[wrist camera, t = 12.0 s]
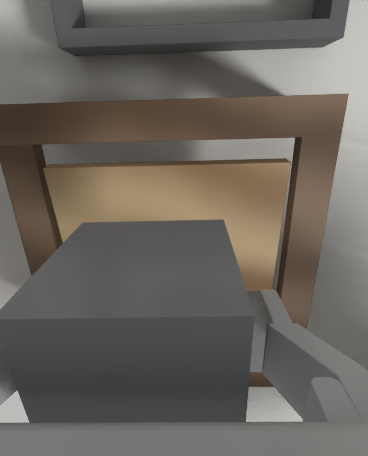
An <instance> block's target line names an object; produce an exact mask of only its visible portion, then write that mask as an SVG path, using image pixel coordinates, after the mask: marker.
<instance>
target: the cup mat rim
mask: <svg viewBox="0 0 368 456" xmlns="http://www.w3.org/2000/svg"><path fill="white" fill-rule="evenodd" d="M51 5H52V11H53V17H54V23H55V29H56V35H57V40H58V46H59V48H60V49H62V50H65V51H67V52H69V53H71V54H73V55H75V56H92V55H120V54H148V53H176V52H204V51H232V50H260V49H287V48H315V47H324V46H326V45H328V44H330V43H332V42H335V41H337V40H339V39H341V38H343V37H344V31H345V25H346V18H347V12H348V6H349V0H314V7H313V15H312V19H304V20H278V21H252V22H226V23H200V24H175V25H149V26H123V27H97V28H86V26H85V18H84V11H83V4H82V0H51Z"/></svg>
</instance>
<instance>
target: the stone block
mask: <svg viewBox="0 0 368 456" xmlns="http://www.w3.org/2000/svg"><path fill="white" fill-rule="evenodd" d="M254 318H255V316H254V312H253V309H252V306H251V303H250V300H249V297H248V294H247V291H246V288H245V284H244V281H243V278H242V275H241V272H240V269H239V266H238V263H237V259H236V256H235V253H234V250H233V247H232V244H231V241H230V238H229V235H228V231H227V228H226V225H225V222H224V219H219V220H173V221H127V222H82V223H81V225H80V226H79V227H78V228H77V229H76V230H75V231H74V232H73V233H72V234H71V235H70V236H69V237H68V238H67V239H66V240H65V242H64V243H63V244H62V245H61V246H60V247H59V248H58V249H57V250H56V251H55V252H54V253H53V254H52V255H51V256H50V258H49V259H48V260H47V261H46V262H45V263H44V264H43V265H42V266H41V267H40V268H39V269H38V270H37V271H36V272H35V273H34V275H33V276H32V277H31V278H30V279H29V280H28V281H27V282H26V283H25V284H24V285H23V286H22V287H21V288H20V289H19V291H18V292H17V293H16V294H15V295H14V296H13V297H12V298H11V299H10V300H9V301H8V302H7V303H6V304H5V305H4V306H3V308H2V309H1V310H0V344H1V347H2V350H3V352H4V355H5V358H6V360H7V363H8V366H9V368H10V371H11V374H12V377H13V379H14V382H15V385H16V387H17V390H18V393H19V395H20V398H21V401H22V403H23V406H24V409H25V411H26V414H27V417H28V420H29V422H30V423H94V422H246V411H247V399H248V387H249V376H250V364H251V353H252V341H253V329H254Z"/></svg>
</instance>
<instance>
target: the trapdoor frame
mask: <svg viewBox="0 0 368 456" xmlns="http://www.w3.org/2000/svg"><path fill="white" fill-rule="evenodd" d="M347 99H348V94H326V95H293V96H261V97H229V98H197V99H165V100H133V101H101V102H69V103H36V104H4V105H0V163H1V167H2V170H3V174H4V177H5V181H6V185H7V188H8V192H9V196H10V199H11V203H12V206H13V210H14V214H15V217H16V221H17V224H18V228H19V232H20V235H21V239H22V242H23V246H24V250H25V253H26V257H27V260H28V264H29V268H30V271H31V275H32V276H33V275H34V273H35V272H36V271H37V270H38V269H39V268H40V267H41V266H42V265H43V264H44V263H45V262H46V261H47V260H48V259H49V258H50V256H51V255H52V254H53V253H54V252H55V251H56V250H57V249H58V248H59V247H60V246H61V245H62V244H63V242H62V238H61V234H60V230H59V226H58V223H57V219H56V215H55V211H54V208H53V204H52V200H51V197H50V193H49V189H48V185H47V182H46V178H45V174H44V170H43V168H45V167H46V163H45V158H44V154H43V149H42V144H68V143H105V142H142V141H179V140H216V139H253V138H290V137H295V144H294V153H293V161H292V169H291V178H290V186H289V194H288V203H287V211H286V219H285V228H284V236H283V244H282V253H281V261H280V269H279V278H278V286H277V293H278V295H279V297H280V299H281V301H282V303H283V305H284V307H285V309H286V311H287V313H288V315H289V317H290V319H291V321H292V323H298V324H299V325H301V326H302V327H304V328H305V329H306V328H307V322H308V316H309V311H310V305H311V300H312V294H313V289H314V283H315V277H316V272H317V266H318V261H319V255H320V250H321V244H322V239H323V233H324V227H325V222H326V216H327V211H328V205H329V200H330V194H331V188H332V183H333V177H334V172H335V166H336V161H337V155H338V149H339V144H340V138H341V133H342V127H343V122H344V116H345V111H346V105H347ZM249 387H274V386H273V385H272V384H271V382H270V381H269V380H268V379H267V378H266V377H265V376H264V375H263V372H250V376H249Z"/></svg>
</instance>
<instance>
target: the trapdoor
mask: <svg viewBox="0 0 368 456" xmlns="http://www.w3.org/2000/svg"><path fill="white" fill-rule="evenodd" d="M290 164H291V162H290V161H288V160H287V159H251V160H211V161H171V162H131V163H91V164H51V165H48V166H46V167H45V168H43V170H44V174H45V178H46V182H47V185H48V189H49V193H50V197H51V200H52V204H53V208H54V211H55V215H56V219H57V223H58V226H59V230H60V234H61V238H62V241H63V243H64V242H65V240H66V239H67V238H68V237H69V236H70V235H71V234H72V233H73V232H74V231H75V230H76V229H77V228H78V227H79V226H80V225H81V223H82V222H127V221H173V220H219V219H224V222H225V225H226V228H227V231H228V235H229V238H230V241H231V244H232V247H233V250H234V253H235V256H236V259H237V263H238V266H239V269H240V272H241V275H242V278H243V281H244V284H245V288H246V291H255V290H270V289H272V285H273V278H274V272H275V265H276V258H277V251H278V245H279V238H280V231H281V225H282V218H283V211H284V204H285V198H286V191H287V184H288V178H289V171H290Z"/></svg>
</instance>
